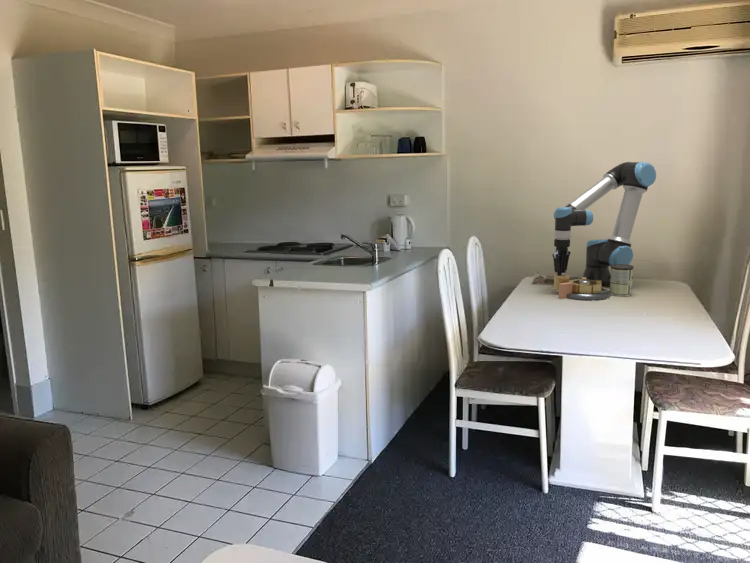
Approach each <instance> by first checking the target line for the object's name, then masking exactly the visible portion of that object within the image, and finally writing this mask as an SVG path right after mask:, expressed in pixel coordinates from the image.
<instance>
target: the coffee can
mask: <svg viewBox="0 0 750 563" xmlns="http://www.w3.org/2000/svg"><path fill="white" fill-rule="evenodd" d="M610 275H611V279H610V284H609V291H610V296H611V295H612V296H614V295H616V296H615V297H631V296H632V294H633V293H632V291H633V278H634V265H631V264H629V265H626V264H614V265H611V266H610ZM630 295H631V296H630Z"/></svg>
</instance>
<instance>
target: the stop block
mask: <svg viewBox="0 0 750 563" xmlns="http://www.w3.org/2000/svg"><path fill="white" fill-rule="evenodd" d="M571 293H572V283H569V282H568V283H560V284H559V290H558V298H557V299H562V300H563V299H568V298H567V294H571Z"/></svg>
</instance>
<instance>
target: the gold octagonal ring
mask: <svg viewBox="0 0 750 563" xmlns="http://www.w3.org/2000/svg"><path fill="white" fill-rule="evenodd" d="M580 280H589V281H590V285H588V282H583V285H582V284H579V281H580ZM568 282H569V283H572V292H574V293H580V294H595V293H600V292H601V288H603V287H602V284H601V280H597V281H595V280H590V279H586V277H582V276H581V278H578V279H576V278H575V279H570V275H567V274H564V275H557V274H554V275H553V290H555V291H559V284H560V283H568Z"/></svg>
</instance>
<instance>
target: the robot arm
mask: <svg viewBox="0 0 750 563" xmlns="http://www.w3.org/2000/svg"><path fill="white" fill-rule="evenodd" d="M656 178H657V171H656V169H655V167H654V165H653V164H652V163H649V162H644V161H637V162H636V161H634V162H633V161H626V162H622V163H620V164H618V165H616V166H614V167H613V168H611V169H610V170H608V171H607V172H606V173H604V174H603V176H602V178H601V179H600V180H598V181H597V182H595V184H593V185H592V186H590V187H589V188H588V189H586V190H585V191H584V192H583V193H581V194H580V195H578V196H577V197H576V198H575V199H573V200H572V201H571V202H570V203H568V204H566V205H565V206H559V207H556V208H555V210H554V212H553V218H554V238H555V239H554V240H553V246H554V247H555V252H554V253H552V258H553V259H552V260H553V266H554V267H553V270H554V273H556V275H565V274H566V273H567V270H568V265H569V260H570V259H569V258H570V255H571V251H569V249H568V248H569V247H570V246H571V230H572V227H579V226H580V227H581V226H582V227H583V226H584V227H586V226H590V225H591V224H592V223H593V221H594V214H593V212H592V211H591V210H587V209H588V208H589V207H591V206H592V205H594V204H595V203H596V202H597V201H599V200H600V199H601V198H602V197H604V196H606V194H608V193H610V191H612V190H616V189H618V188H620V187H622V188H623V189H624V192H623V195H622V199H621V203H620V207H619V211H618V215H617V217H616V220H615V224H614V227H613V231H612V235H611V236H610V237H608V238H605V239H603V238H602V239H590V240H588V241H587V243H586V253H585V255H586V256H585V268H584V272H583V273H582V276H581V278H582V277H586V279H590V280H595V281H597V280H601V284H605V285H610V279H611V270H610V267H611V265H614V264H626V265H631V262H632V261H633V259H634V252H633V249H632V248H631V247H632V242H631V240H630V239H631V237H632V236H631V235H632V232H633V229H634V226H635V222H636V218H637V215H638V211H639V208H640V204H641V201H642V198H643V194H644V193H646V192H648V189H649V188H648V187H650V186H652V185H653V184H655V182H656Z"/></svg>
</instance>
